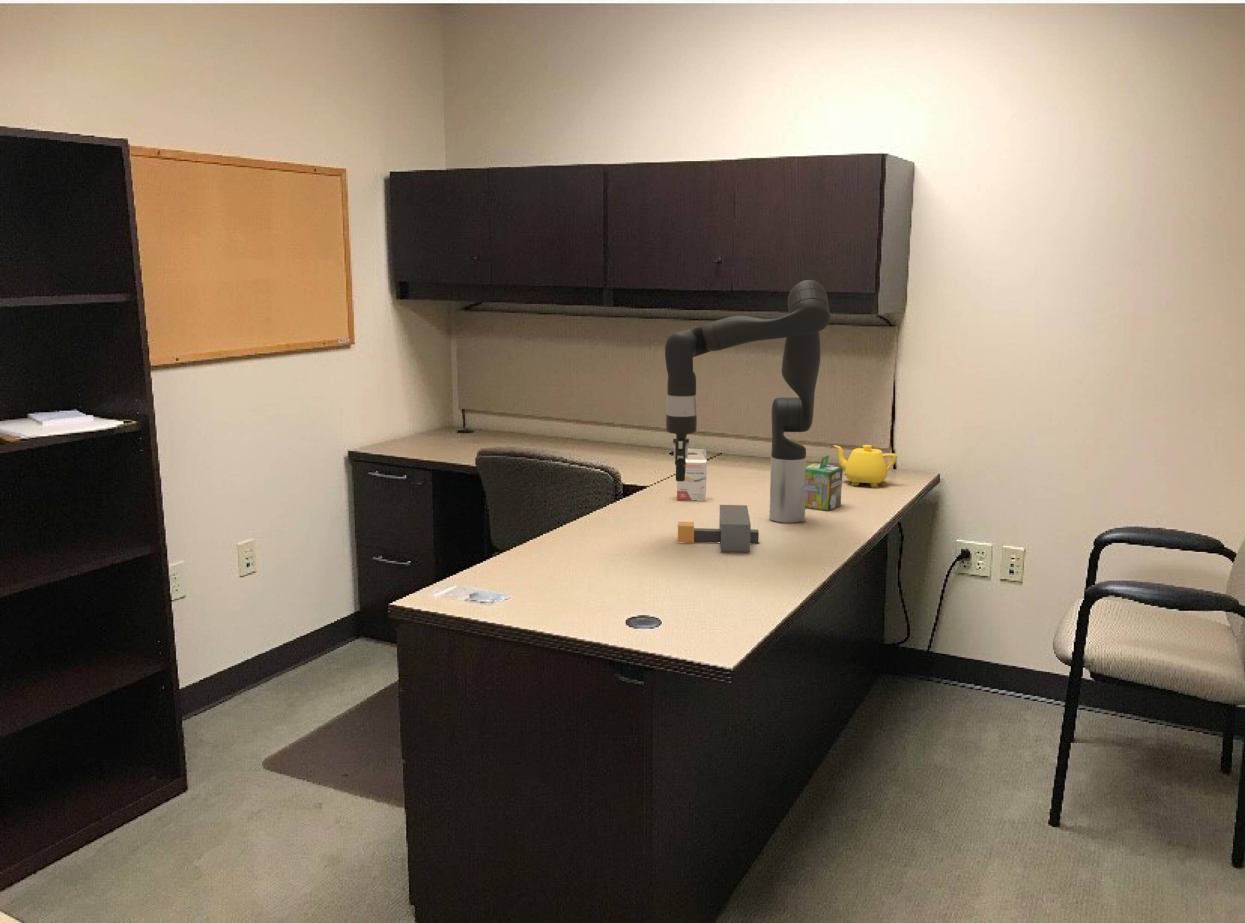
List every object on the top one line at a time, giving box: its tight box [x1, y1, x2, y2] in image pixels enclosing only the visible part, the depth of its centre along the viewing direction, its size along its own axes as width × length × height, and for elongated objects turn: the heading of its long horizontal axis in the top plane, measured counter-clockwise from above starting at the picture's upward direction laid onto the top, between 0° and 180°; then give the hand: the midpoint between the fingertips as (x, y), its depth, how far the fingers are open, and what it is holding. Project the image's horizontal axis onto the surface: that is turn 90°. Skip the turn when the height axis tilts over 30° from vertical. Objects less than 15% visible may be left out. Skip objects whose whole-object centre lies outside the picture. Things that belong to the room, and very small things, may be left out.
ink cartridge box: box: [676, 448, 708, 502], centre depth 300 cm, size 9×5×15 cm, turn 84°
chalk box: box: [805, 454, 844, 512], centre depth 291 cm, size 9×9×15 cm
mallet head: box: [718, 504, 752, 553], centre depth 254 cm, size 7×20×7 cm, turn 176°
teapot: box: [833, 444, 898, 488], centre depth 321 cm, size 13×20×12 cm
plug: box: [677, 521, 760, 544], centre depth 255 cm, size 20×4×4 cm, turn 86°
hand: (680, 477), depth 253 cm, fingers open, 8 cm apart
